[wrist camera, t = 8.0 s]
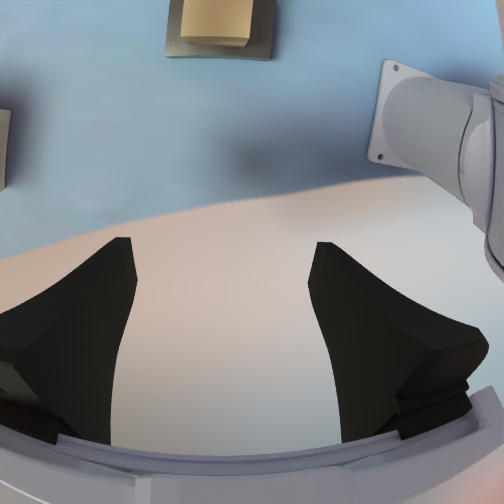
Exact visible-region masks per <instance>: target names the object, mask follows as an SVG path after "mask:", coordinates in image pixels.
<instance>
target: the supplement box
mask: <svg viewBox="0 0 504 504" xmlns="http://www.w3.org/2000/svg"><path fill="white" fill-rule="evenodd" d="M10 116H11V111H10V110H3V109H0V192H1V191H2V190H4V188H5V166H6V152H7V142H8V132H9V125H10Z"/></svg>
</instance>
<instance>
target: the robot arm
mask: <svg viewBox="0 0 504 504" xmlns="http://www.w3.org/2000/svg"><path fill="white" fill-rule="evenodd" d="M394 65H395V66H396V71H395V70H394V69H393V66H394ZM379 154H381V158H380V159H378V155H379ZM367 157H368V159H369V160H370V161H372V162H375V163H381V164H386V165H391V166H397V167H402V168H407V169H411V170H416V171H419V172H420V173H422V174H424V175H425V176H427V177H428V178H429V179H431V180H433V181H434V182H435V183H437V184H438V185H440V186H441V187H442V188H444V189H445V190H447V191H448V192H449V193H451V194H452V195H454V196H455V197H456V198H458V199H459V200H460V201H461V202H463V203H464V204H465V205H467V206H468V207H469V208H470V209H471V210H472V212H473V223H474V224H475V225H476V226H477V227H478V228H479V229H480V230H481V231H482V232H484V233H485V234H486V236H485V243H484V250H485V256H486V259H487V262H488V263H489V266H490V267H491V269H492V270H493V272H494V273H495V274H496V275H497V276H498V278H500V280H501V281H502V282H504V73H499V74H498V75H497V76H496V77H495V79H494V80H492V81H490V83H489V90H488V89H484V88H480V87H475V86H471V85H466V84H462V83H457V82H451V81H446V80H441V79H438V78H436V77H434V76H432V75H429V74H427V73H425V72H422V71H420V70H417V69H415V68H412V67H410V66H407V65H404V64H402V63H399V62H396V61H393V60H390V59H386V60H384V61H383V63H382V68H381V76H380V83H379V90H378V97H377V103H376V110H375V115H374V121H373V127H372V132H371V137H370V143H369V148H368V153H367ZM137 281H138V279H137V275H136V268H135V263H134V257H133V251H132V245H131V238H130V237H116V238H114V239H113V240H111V241H110V242H108V243H107V244H106V245H105V246H103V247H102V248H101V249H100V250H98V251H97V252H96V253H95V254H93V255H92V256H91V257H90V258H88V259H87V260H86V261H85V262H83V263H82V264H81V265H80V266H78V267H77V268H76V269H74V270H73V271H72V272H70V273H69V274H68V275H67V276H66V277H64V278H63V279H61V280H60V281H58V282H57V283H55V284H54V285H52V286H51V287H49V288H48V289H46V290H45V291H43V292H42V293H40V294H38V295H36V296H34V297H33V298H31V299H29V300H27V301H26V302H24V303H22V304H20V305H18V306H16V307H14V308H12V309H10V310H8V311H5V312H3V313H1V314H0V482H2V483H3V484H5V485H7V486H9V487H11V488H13V489H14V490H16V491H18V492H20V493H22V494H24V495H27V496H29V497H31V498H33V499H35V500H37V501H39V502H42V503H44V504H400V503H403V502H405V501H407V500H409V499H412V498H414V497H416V496H418V495H420V494H422V493H424V492H426V491H428V490H430V489H432V488H434V487H436V486H438V485H440V484H442V483H444V482H445V481H447V480H449V479H451V478H453V477H454V476H456V475H458V474H459V473H461V472H463V471H464V470H466V469H467V468H469V467H471V466H472V465H474V464H475V463H477V462H478V461H480V460H481V459H483V458H484V457H486V456H487V455H488V454H490V453H491V452H493V451H494V450H495V449H497V448H498V447H499V446H501V445H502V444H503V443H504V408H503V406H502V404H501V402H500V400H499V398H498V396H497V394H496V392H495V390H494V388H493V387H492V386H488V387H486V388H484V389H482V390H480V391H478V392H476V393H474V394H472V395H471V396H470V397H468V396H467V394H466V392H465V391H467V390H468V389H469V385H468V383H467V381H466V380H467V378H468V377H469V376H470V375H471V374H472V373H473V372H474V371H475V370H476V368H477V367H478V366H479V365H480V364H481V362H482V361H483V360H484V358H485V357H486V354H487V353H488V349H489V344H488V342H487V340H486V339H485V337H484V336H483V334H482V333H481V331H480V330H479V329H478V328H476V327H473V326H470V325H467V324H464V323H461V322H458V321H455V320H453V319H450V318H447V317H445V316H443V315H441V314H438V313H436V312H434V311H432V310H430V309H428V308H426V307H424V306H422V305H420V304H418V303H416V302H415V301H413V300H411V299H409V298H408V297H406V296H404V295H403V294H401V293H400V292H398V291H396V290H395V289H393V288H392V287H390V286H389V285H387V284H386V283H385V282H383V281H382V280H380V279H379V278H378V277H376V276H375V275H374V274H372V273H371V272H370V271H368V270H367V269H366V268H365V267H363V266H362V265H361V264H359V263H358V262H357V261H356V260H355V259H353V258H352V257H351V256H350V255H348V254H347V253H346V252H345V251H343V250H342V249H341V248H339V247H338V246H336V245H335V244H333V243H332V242H317V247H316V251H315V255H314V259H313V263H312V267H311V271H310V275H309V279H308V288H309V292H310V298H311V302H312V305H313V309H314V312H315V315H316V317H317V320H318V323H319V326H320V329H321V332H322V334H323V337H324V340H325V343H326V346H327V349H328V352H329V355H330V360H331V365H332V369H333V374H334V380H335V386H336V392H337V397H338V406H339V414H340V424H341V439H342V444H337V445H332V446H327V447H321V448H315V449H308V450H301V451H292V452H283V453H274V454H260V455H239V456H203V455H199V456H198V455H180V454H168V453H157V452H148V451H140V450H133V449H127V448H121V447H115V446H111V438H110V437H111V434H110V433H111V430H110V420H111V419H110V418H111V399H112V389H113V379H114V372H115V364H116V358H117V354H118V350H119V346H120V342H121V339H122V336H123V333H124V329H125V326H126V323H127V320H128V317H129V314H130V311H131V308H132V304H133V301H134V296H135V291H136V286H137ZM127 473H128V474H127ZM131 474H134V475H140V476H139V477H137V478H133V476H132V475H131Z"/></svg>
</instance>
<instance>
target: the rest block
mask: <svg viewBox="0 0 504 504" xmlns="http://www.w3.org/2000/svg"><path fill="white" fill-rule="evenodd" d="M275 5H276V0H253V6H252V15H251V25H250V36H249V39H248V41H247V43H246V45H245V47H226V46H190V45H189V44H188V43H187V42H186V41H185V40H184V39H183V38H181V37H180V36H181V25H182V15H183V6H184V0H170V6H169V15H168V25H167V36H166V49H165V57H168V58H171V59H173V58H230V59H247V60H259V61H267V60H269V59H270V55H271V45H272V35H273V25H274V15H275Z"/></svg>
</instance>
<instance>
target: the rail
mask: <svg viewBox="0 0 504 504" xmlns="http://www.w3.org/2000/svg"><path fill="white" fill-rule="evenodd" d="M252 6H253V0H184V6H183V15H182V25H181V36H180V37H181V38H183V39H184V40H185V41H186V42H187V43H188V44H189V45H190V46H226V47H245V45H246V43H247V41H248V39H249V36H250V25H251V15H252Z"/></svg>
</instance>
